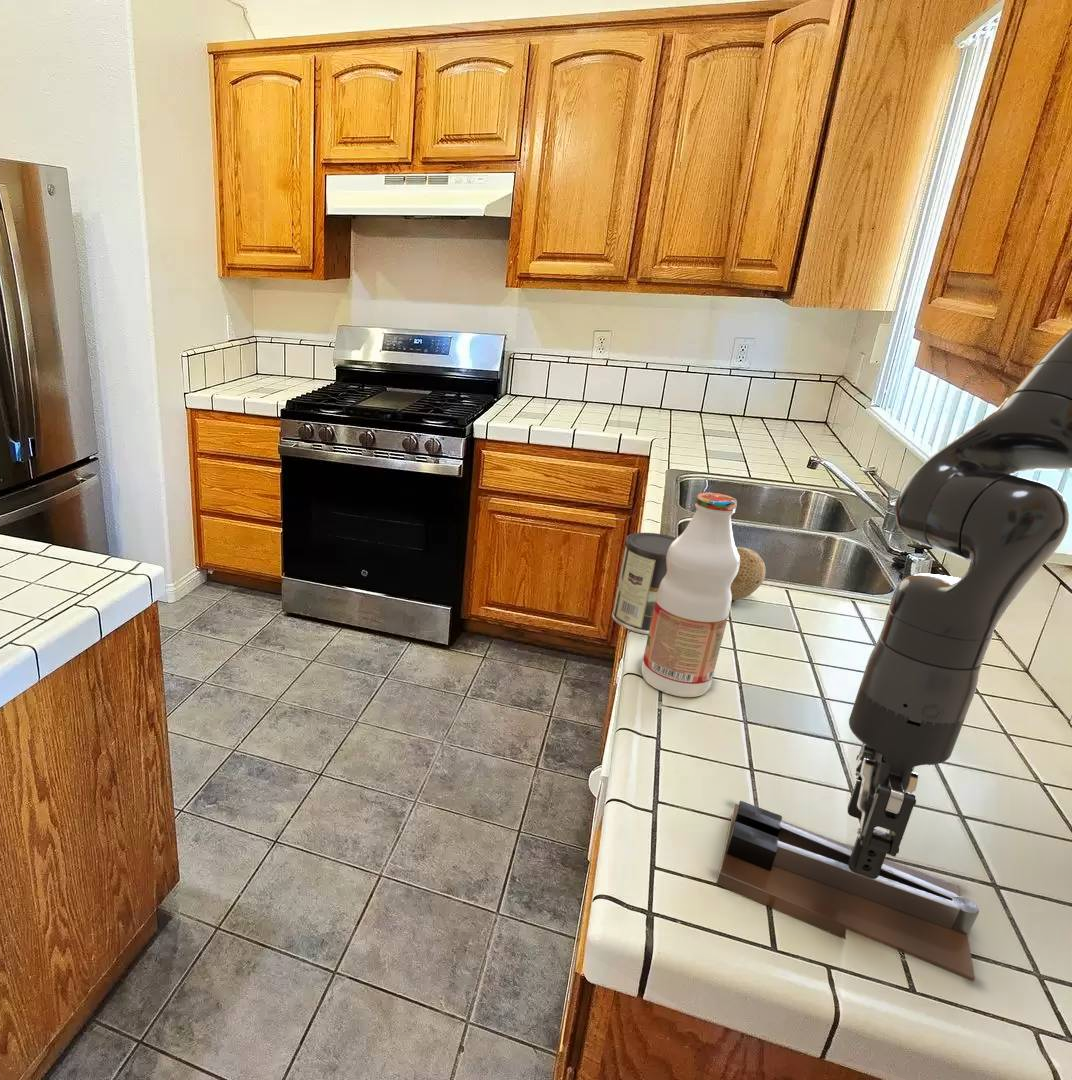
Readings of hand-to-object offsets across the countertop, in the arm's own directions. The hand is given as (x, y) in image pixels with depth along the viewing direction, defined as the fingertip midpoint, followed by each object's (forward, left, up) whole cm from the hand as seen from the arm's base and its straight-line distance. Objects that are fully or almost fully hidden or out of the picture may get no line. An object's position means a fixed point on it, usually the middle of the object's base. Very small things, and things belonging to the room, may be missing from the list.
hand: (860, 843), depth 71 cm
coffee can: (+29, -50, -7) cm, 58 cm away
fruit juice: (+21, -33, -7) cm, 39 cm away
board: (0, -1, -7) cm, 7 cm away
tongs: (0, -1, -5) cm, 5 cm away
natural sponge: (+18, -69, -7) cm, 71 cm away
